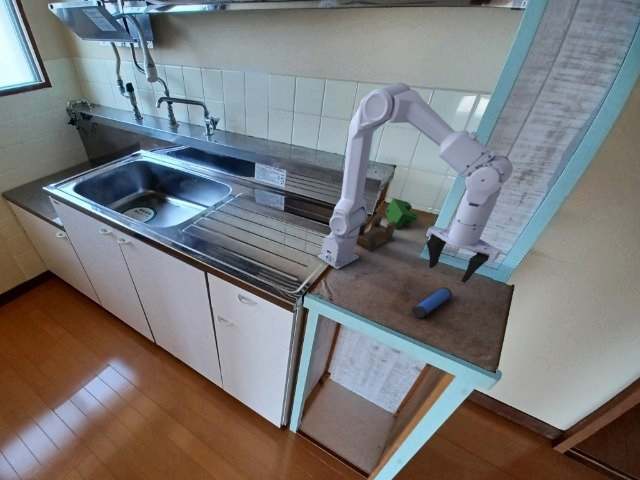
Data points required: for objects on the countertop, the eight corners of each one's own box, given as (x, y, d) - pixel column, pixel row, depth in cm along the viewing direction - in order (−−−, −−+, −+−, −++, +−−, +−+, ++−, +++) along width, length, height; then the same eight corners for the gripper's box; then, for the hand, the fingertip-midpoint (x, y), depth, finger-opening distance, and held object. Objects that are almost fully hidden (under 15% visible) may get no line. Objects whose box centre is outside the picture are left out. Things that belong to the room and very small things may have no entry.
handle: (420, 320, 78) (426, 312, 76) (410, 312, 80) (415, 304, 78) (448, 300, 83) (454, 292, 81) (437, 293, 85) (443, 285, 82)
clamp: (401, 238, 112) (419, 222, 104) (386, 234, 111) (402, 218, 103) (400, 210, 117) (417, 193, 108) (385, 206, 116) (401, 189, 108)
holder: (369, 251, 99) (374, 234, 95) (351, 241, 103) (356, 224, 99) (391, 239, 104) (397, 222, 100) (373, 230, 108) (378, 214, 104)
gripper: (519, 225, 64) (490, 280, 73) (446, 203, 74) (428, 254, 82) (502, 237, 61) (473, 293, 70) (428, 213, 71) (412, 264, 79)
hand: (448, 273), depth 76 cm, fingers open, 7 cm apart
